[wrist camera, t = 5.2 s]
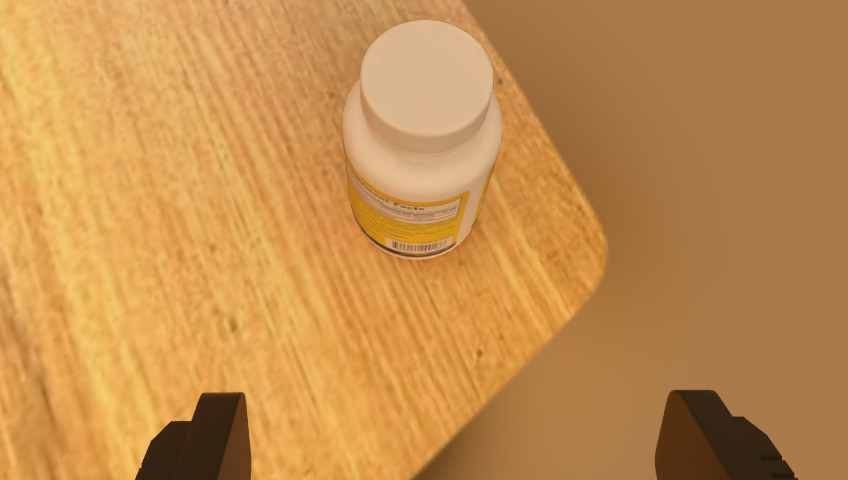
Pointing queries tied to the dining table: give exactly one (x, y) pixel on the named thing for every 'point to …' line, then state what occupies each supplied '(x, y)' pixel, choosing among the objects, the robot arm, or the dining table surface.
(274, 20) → the dining table surface
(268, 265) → the dining table surface
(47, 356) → the dining table surface
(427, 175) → the supplement bottle
